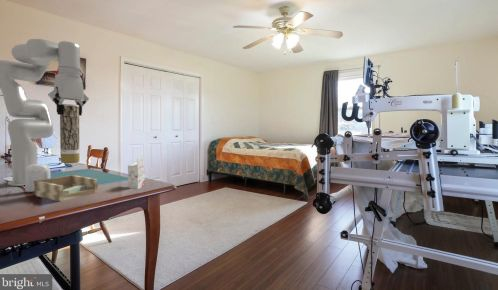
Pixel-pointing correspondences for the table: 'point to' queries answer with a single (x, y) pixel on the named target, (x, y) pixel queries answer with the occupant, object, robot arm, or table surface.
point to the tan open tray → (64, 187)
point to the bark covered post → (69, 134)
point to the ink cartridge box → (136, 174)
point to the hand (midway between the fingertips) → (69, 114)
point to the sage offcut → (73, 189)
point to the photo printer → (35, 175)
